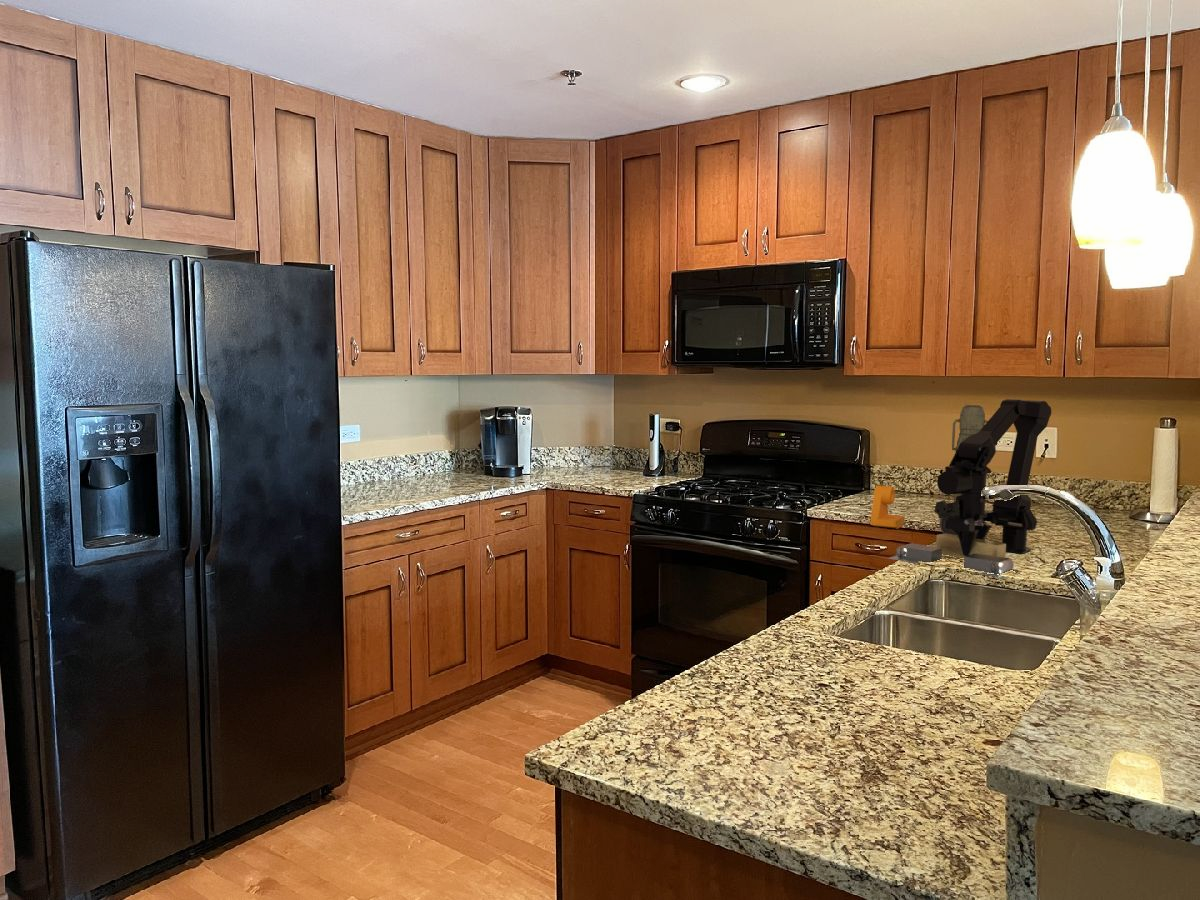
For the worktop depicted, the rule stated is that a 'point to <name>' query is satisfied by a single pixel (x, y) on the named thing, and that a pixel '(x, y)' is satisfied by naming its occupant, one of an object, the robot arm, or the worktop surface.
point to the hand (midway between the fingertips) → (969, 554)
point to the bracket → (884, 508)
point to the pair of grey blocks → (971, 561)
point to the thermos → (968, 425)
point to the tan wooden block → (953, 546)
